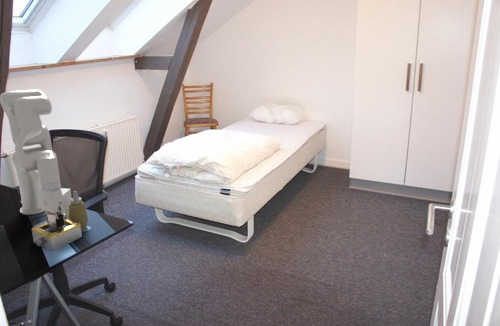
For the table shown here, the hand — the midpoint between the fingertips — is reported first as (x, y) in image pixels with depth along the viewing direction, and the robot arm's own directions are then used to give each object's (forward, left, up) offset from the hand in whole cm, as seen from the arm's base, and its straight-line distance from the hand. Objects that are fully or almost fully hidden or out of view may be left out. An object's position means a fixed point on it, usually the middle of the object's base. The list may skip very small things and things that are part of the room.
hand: (55, 223), depth 168 cm
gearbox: (0, 0, -7) cm, 7 cm away
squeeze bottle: (-2, +12, -8) cm, 14 cm away
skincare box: (-13, +12, -8) cm, 19 cm away
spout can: (0, +1, -2) cm, 2 cm away
